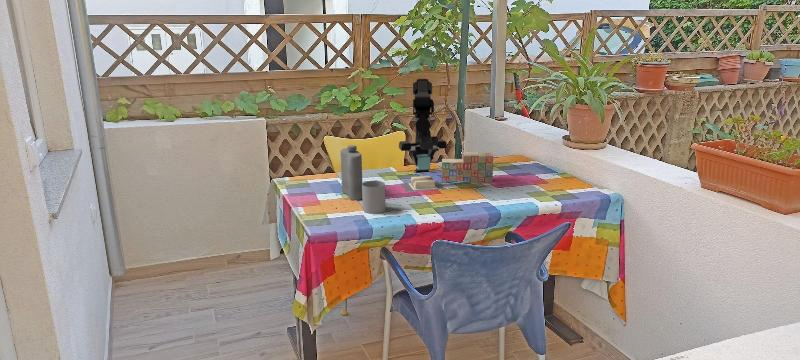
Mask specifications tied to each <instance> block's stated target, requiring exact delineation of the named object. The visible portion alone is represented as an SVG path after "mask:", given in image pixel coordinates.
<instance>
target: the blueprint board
mask: <svg viewBox="0 0 800 360" xmlns="http://www.w3.org/2000/svg"><path fill="white" fill-rule="evenodd" d="M434 181H435V188H429V189H415V188H414V187H413V186H412V185H411V182H403V183H400V185H401V186H402V187H403V188H404V191H405V192H408V193H409V192H410V193H411V192H421V191H422V192H423V191H435V190H446V187H444V185H443V184H442V183H441V182H440V181H439V180H434Z"/></svg>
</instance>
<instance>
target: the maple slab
mask: <svg viewBox="0 0 800 360" xmlns="http://www.w3.org/2000/svg"><path fill="white" fill-rule="evenodd" d="M435 181H436V180H435V179H433V177H431V175H422V176H411V177H410V183H411V185H412V186H413V187H414V188H415V189H429V188H435Z"/></svg>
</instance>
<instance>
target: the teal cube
mask: <svg viewBox="0 0 800 360" xmlns="http://www.w3.org/2000/svg"><path fill="white" fill-rule="evenodd" d="M416 168H417V169H418V170H426V169H429V170H431V164H430V156H429V155H427V154H424V155H417V166H416V165H415V169H416Z"/></svg>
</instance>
